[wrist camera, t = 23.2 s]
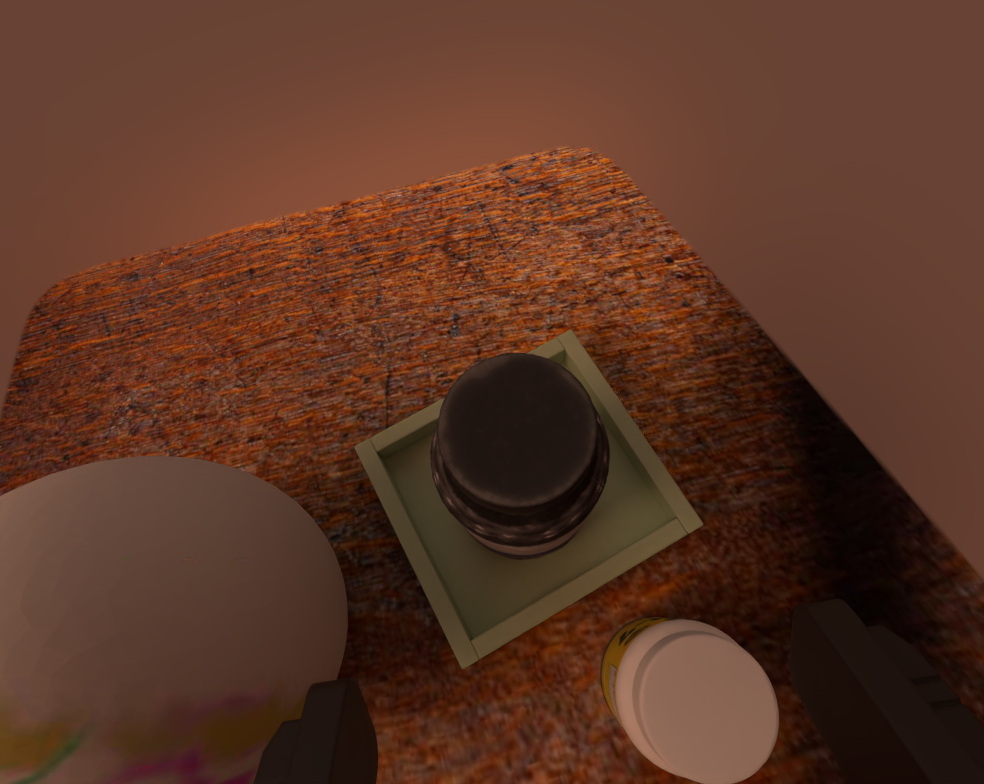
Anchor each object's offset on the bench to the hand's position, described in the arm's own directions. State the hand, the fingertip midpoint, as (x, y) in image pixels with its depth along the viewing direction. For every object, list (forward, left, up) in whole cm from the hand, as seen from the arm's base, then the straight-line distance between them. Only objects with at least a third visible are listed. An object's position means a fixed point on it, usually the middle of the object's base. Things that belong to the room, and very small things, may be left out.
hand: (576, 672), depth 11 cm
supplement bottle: (-3, +3, -16) cm, 17 cm away
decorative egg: (+12, -7, -16) cm, 21 cm away
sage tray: (-2, -6, -16) cm, 17 cm away
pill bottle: (-2, -6, -16) cm, 17 cm away
